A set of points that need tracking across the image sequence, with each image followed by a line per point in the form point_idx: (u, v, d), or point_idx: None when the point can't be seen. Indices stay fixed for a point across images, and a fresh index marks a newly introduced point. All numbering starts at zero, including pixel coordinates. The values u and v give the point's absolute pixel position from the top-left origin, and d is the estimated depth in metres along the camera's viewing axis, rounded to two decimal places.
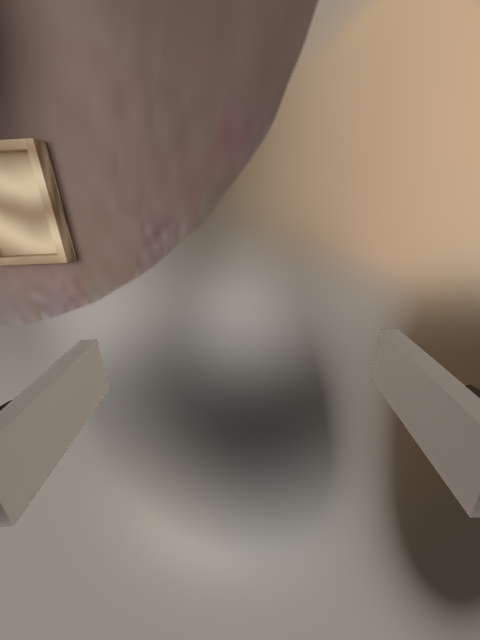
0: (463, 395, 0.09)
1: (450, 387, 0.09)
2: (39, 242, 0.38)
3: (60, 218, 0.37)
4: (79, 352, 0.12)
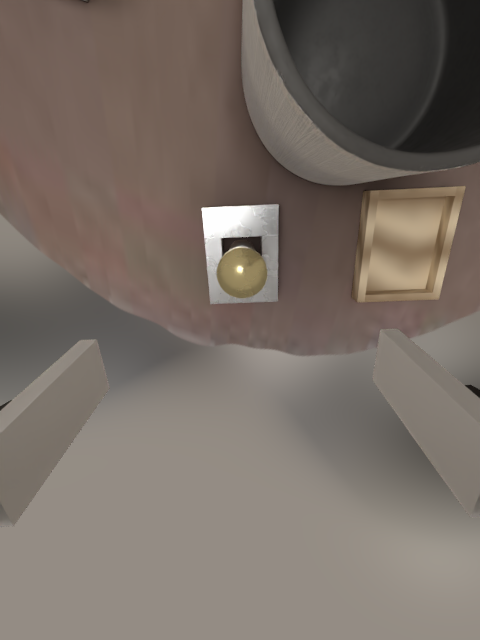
0: (463, 395, 0.09)
1: (450, 387, 0.09)
2: (405, 279, 0.40)
3: None
4: (79, 353, 0.12)
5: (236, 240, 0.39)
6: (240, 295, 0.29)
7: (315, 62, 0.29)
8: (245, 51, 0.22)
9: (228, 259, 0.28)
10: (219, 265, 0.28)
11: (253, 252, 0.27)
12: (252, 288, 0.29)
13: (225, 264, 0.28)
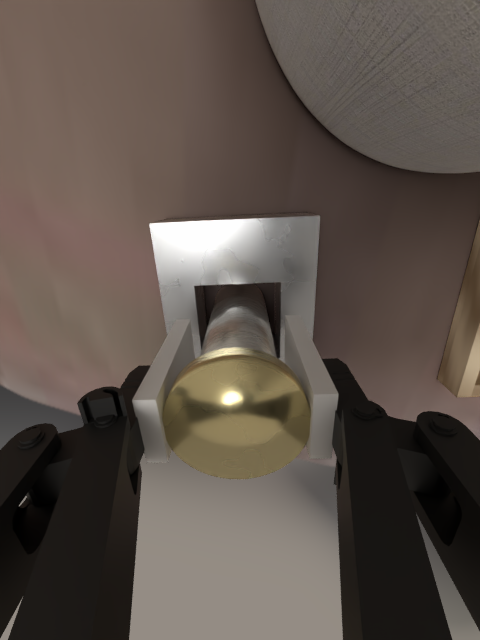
0: (313, 363, 0.11)
1: (307, 357, 0.11)
2: None
3: None
4: (182, 329, 0.14)
5: None
6: (231, 473, 0.11)
7: None
8: None
9: (196, 391, 0.09)
10: (169, 406, 0.09)
11: (271, 374, 0.09)
12: (268, 458, 0.10)
13: (187, 404, 0.09)
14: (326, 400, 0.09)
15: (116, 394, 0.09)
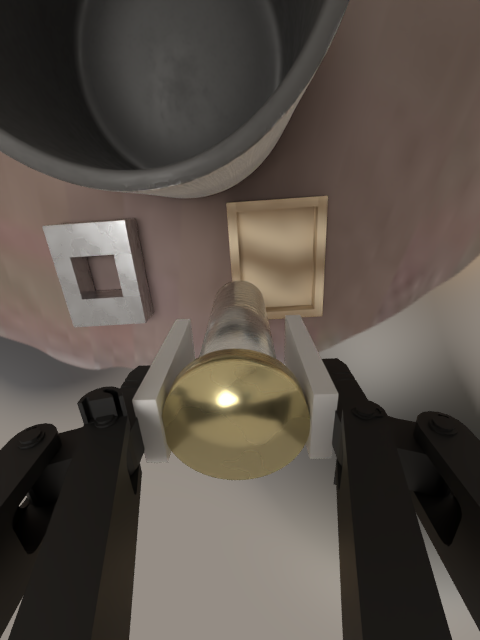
0: (313, 363, 0.11)
1: (307, 357, 0.11)
2: (288, 295, 0.37)
3: None
4: (182, 328, 0.14)
5: (228, 283, 0.20)
6: (230, 474, 0.11)
7: (132, 66, 0.26)
8: None
9: (195, 392, 0.09)
10: (168, 407, 0.09)
11: (270, 375, 0.09)
12: (267, 459, 0.10)
13: (186, 405, 0.09)
14: (326, 400, 0.09)
15: (116, 394, 0.09)
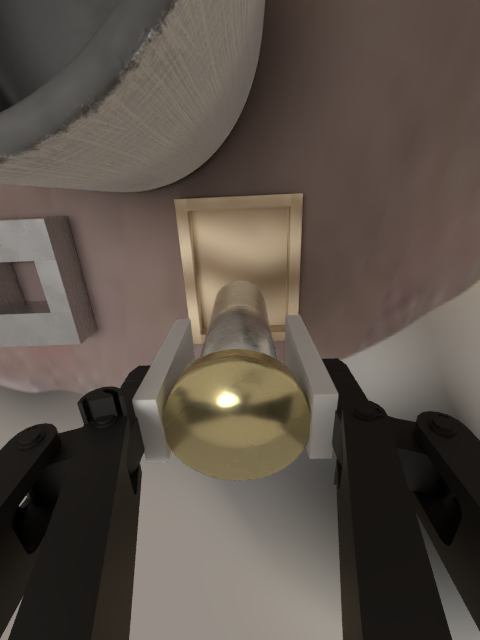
0: (313, 363, 0.11)
1: (307, 357, 0.11)
2: None
3: None
4: (182, 328, 0.14)
5: (228, 283, 0.20)
6: (231, 474, 0.11)
7: (37, 11, 0.19)
8: None
9: (196, 393, 0.09)
10: (169, 408, 0.09)
11: (271, 376, 0.09)
12: (268, 459, 0.10)
13: (187, 406, 0.09)
14: (326, 400, 0.09)
15: (116, 394, 0.09)
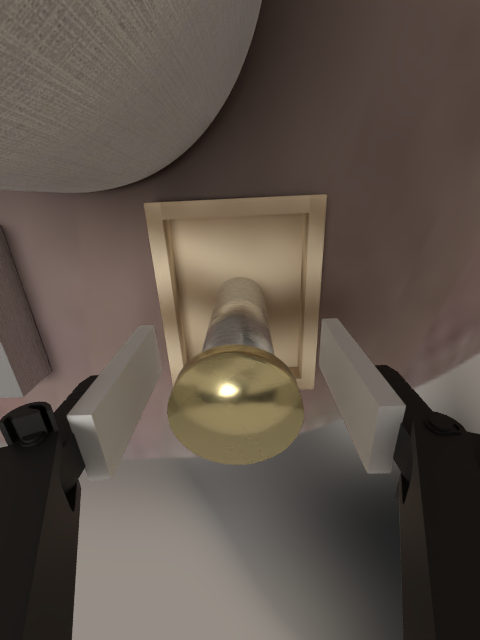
0: (367, 371, 0.10)
1: (360, 365, 0.10)
2: None
3: None
4: (142, 336, 0.13)
5: (229, 279, 0.21)
6: (231, 459, 0.11)
7: None
8: None
9: (199, 385, 0.10)
10: (173, 398, 0.10)
11: (267, 369, 0.10)
12: (264, 446, 0.11)
13: (190, 396, 0.10)
14: (392, 412, 0.08)
15: (44, 409, 0.08)
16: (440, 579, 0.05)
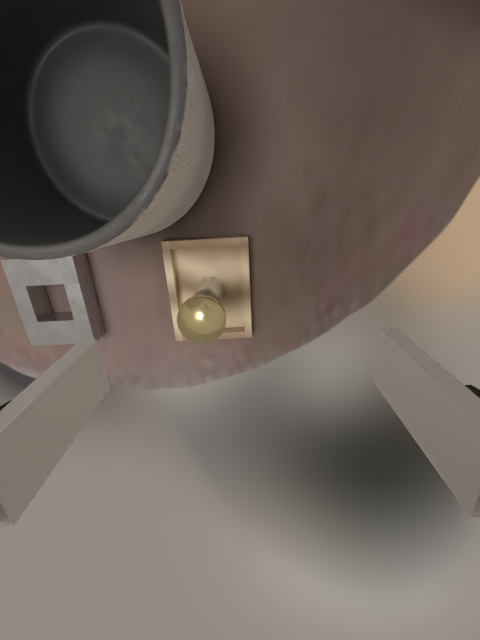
0: (463, 395, 0.09)
1: (450, 387, 0.09)
2: None
3: None
4: (78, 353, 0.12)
5: (204, 278, 0.40)
6: (200, 340, 0.30)
7: (73, 133, 0.31)
8: None
9: (187, 308, 0.29)
10: (179, 313, 0.29)
11: (211, 301, 0.29)
12: (212, 334, 0.30)
13: (184, 312, 0.29)
14: None
15: None
16: None
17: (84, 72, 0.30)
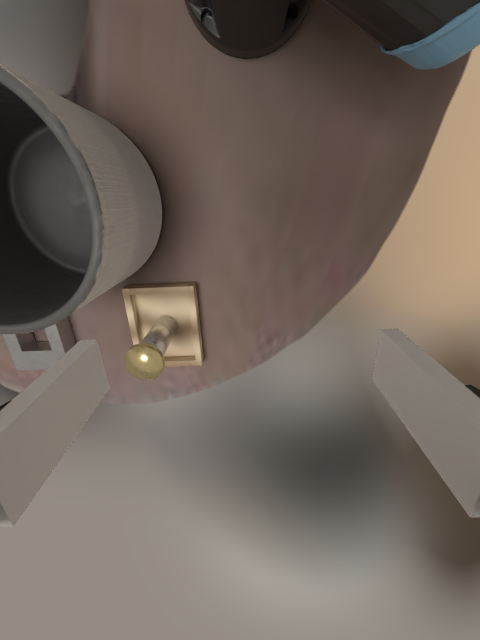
0: (463, 395, 0.09)
1: (450, 387, 0.09)
2: (178, 348, 0.50)
3: (199, 333, 0.48)
4: (78, 353, 0.12)
5: (160, 316, 0.47)
6: (144, 377, 0.38)
7: (45, 207, 0.39)
8: None
9: (131, 353, 0.37)
10: (125, 358, 0.37)
11: (149, 349, 0.36)
12: (153, 373, 0.38)
13: (129, 357, 0.37)
14: None
15: None
16: None
17: (53, 162, 0.37)
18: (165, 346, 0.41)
